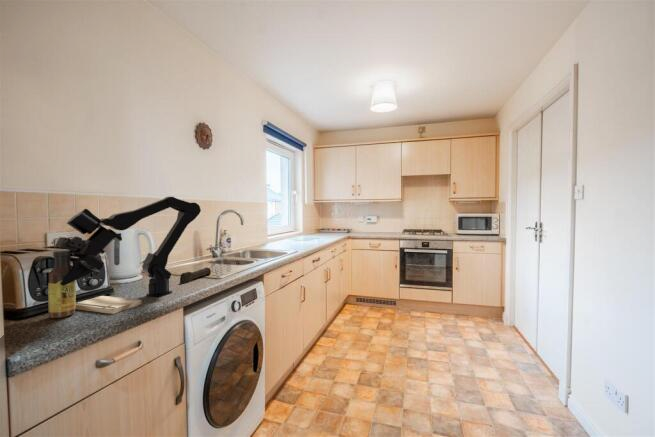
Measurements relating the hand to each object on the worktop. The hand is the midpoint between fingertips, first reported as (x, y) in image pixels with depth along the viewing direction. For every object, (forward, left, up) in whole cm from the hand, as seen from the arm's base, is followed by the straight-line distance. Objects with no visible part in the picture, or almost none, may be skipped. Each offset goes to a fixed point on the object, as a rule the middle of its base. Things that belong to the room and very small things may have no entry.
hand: (56, 283), depth 89 cm
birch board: (-12, +5, -10) cm, 16 cm away
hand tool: (-53, +6, -11) cm, 55 cm away
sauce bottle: (-1, 0, -10) cm, 10 cm away
